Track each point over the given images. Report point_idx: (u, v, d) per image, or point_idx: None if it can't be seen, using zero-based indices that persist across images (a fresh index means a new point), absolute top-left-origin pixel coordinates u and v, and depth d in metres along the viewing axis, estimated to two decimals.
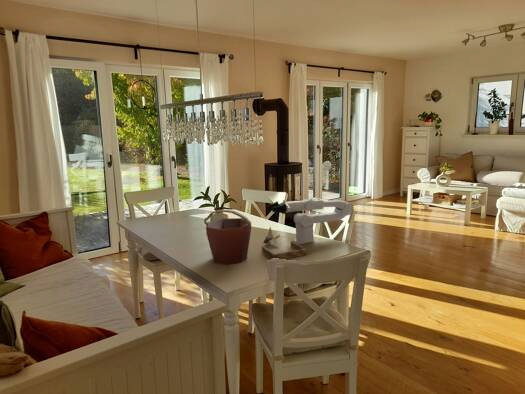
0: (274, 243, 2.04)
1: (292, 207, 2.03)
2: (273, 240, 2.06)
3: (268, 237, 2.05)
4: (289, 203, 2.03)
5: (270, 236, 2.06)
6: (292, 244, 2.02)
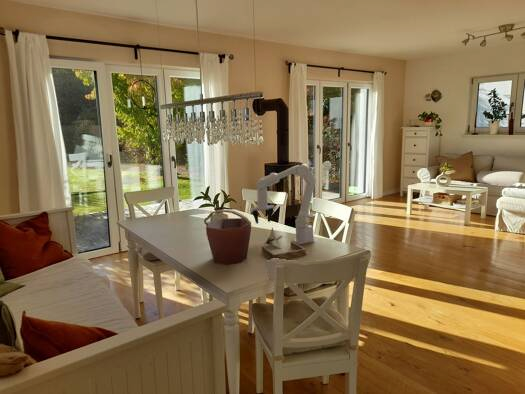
0: (276, 244, 2.03)
1: (258, 202, 2.12)
2: (275, 241, 2.05)
3: (270, 238, 2.04)
4: None
5: (272, 236, 2.05)
6: (292, 244, 2.02)
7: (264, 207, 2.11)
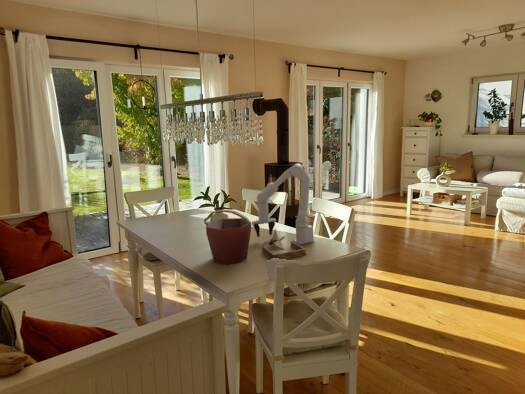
0: (279, 244, 2.02)
1: (259, 215, 2.13)
2: (278, 241, 2.03)
3: (273, 238, 2.02)
4: None
5: (275, 237, 2.03)
6: (292, 244, 2.02)
7: (265, 220, 2.12)
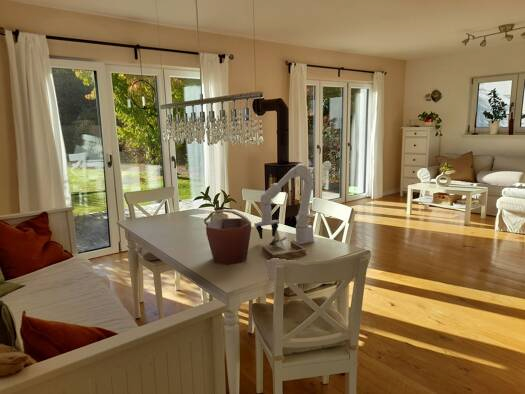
0: (281, 245, 2.01)
1: (262, 217, 2.09)
2: (280, 242, 2.02)
3: (275, 239, 2.01)
4: None
5: (276, 238, 2.02)
6: (292, 244, 2.02)
7: (268, 222, 2.08)
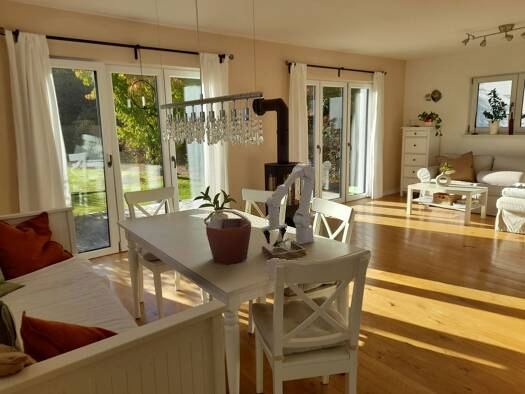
0: (284, 246, 1.98)
1: (269, 221, 2.00)
2: (283, 243, 2.00)
3: (278, 240, 1.99)
4: None
5: (279, 239, 2.00)
6: (292, 244, 2.02)
7: (276, 226, 1.99)
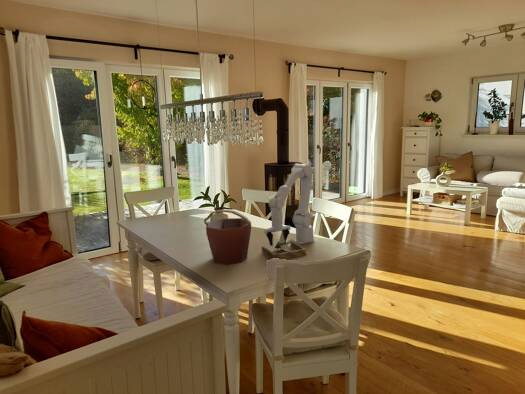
0: (286, 248, 1.95)
1: (272, 223, 1.96)
2: (285, 245, 1.97)
3: (280, 242, 1.96)
4: None
5: (281, 241, 1.97)
6: (292, 244, 2.02)
7: (279, 228, 1.95)
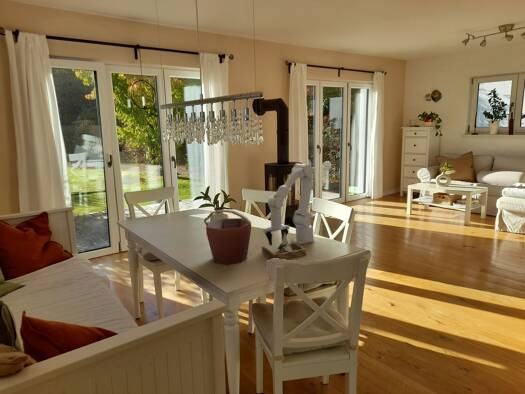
0: (289, 249, 1.93)
1: (271, 222, 1.97)
2: (288, 246, 1.95)
3: (283, 243, 1.94)
4: None
5: (284, 242, 1.95)
6: (292, 244, 2.02)
7: (278, 228, 1.96)
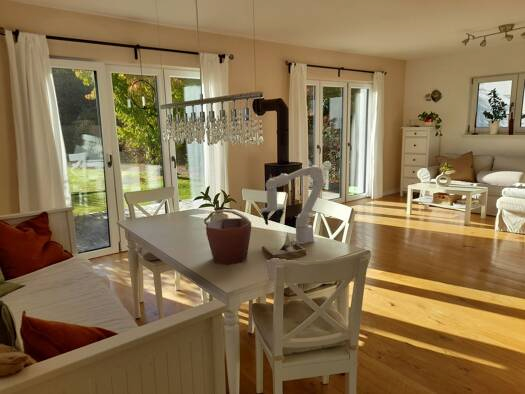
0: (292, 250, 1.92)
1: (267, 203, 2.10)
2: (291, 247, 1.93)
3: (285, 244, 1.92)
4: None
5: (287, 243, 1.93)
6: None
7: (274, 208, 2.09)
